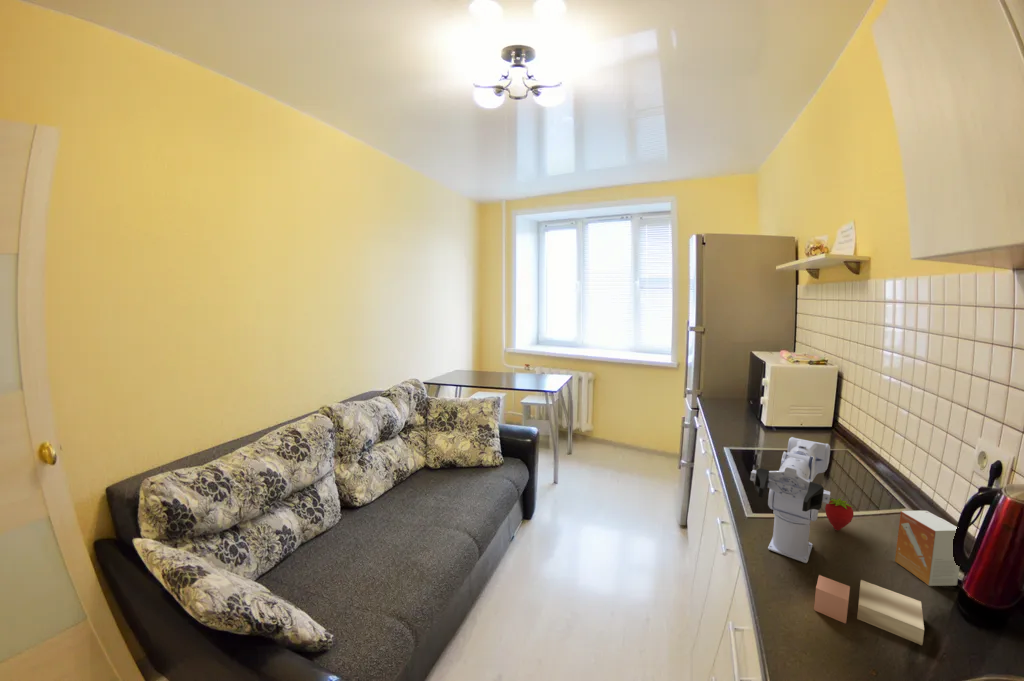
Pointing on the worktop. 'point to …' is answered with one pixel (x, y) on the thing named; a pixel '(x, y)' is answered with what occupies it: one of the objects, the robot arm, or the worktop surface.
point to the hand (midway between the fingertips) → (782, 499)
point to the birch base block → (891, 612)
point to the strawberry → (839, 513)
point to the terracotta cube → (832, 598)
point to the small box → (927, 548)
